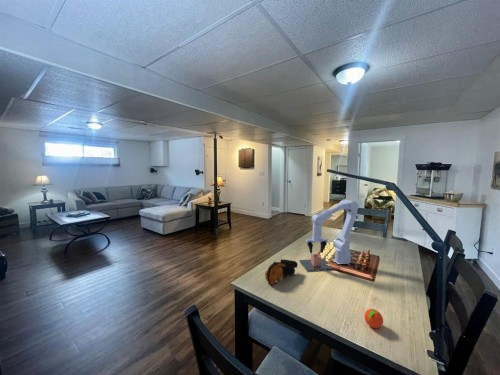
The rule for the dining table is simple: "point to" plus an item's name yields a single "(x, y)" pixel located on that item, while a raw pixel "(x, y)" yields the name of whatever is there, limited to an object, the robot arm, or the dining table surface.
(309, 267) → the stand
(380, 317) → the clementine
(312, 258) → the collar
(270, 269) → the tool
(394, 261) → the dining table surface
